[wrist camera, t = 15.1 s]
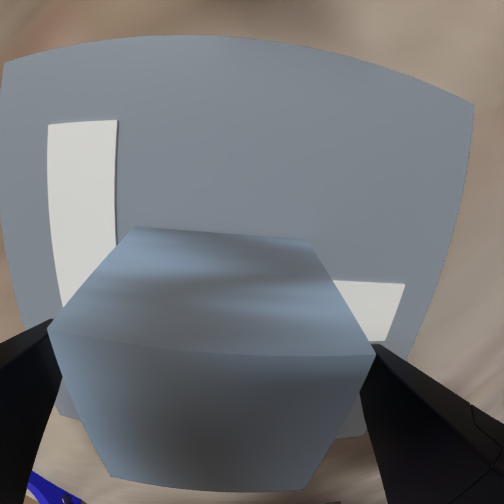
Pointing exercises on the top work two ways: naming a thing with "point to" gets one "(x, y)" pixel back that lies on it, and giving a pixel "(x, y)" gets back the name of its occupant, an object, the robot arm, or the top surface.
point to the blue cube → (211, 360)
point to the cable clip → (49, 491)
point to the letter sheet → (231, 167)
